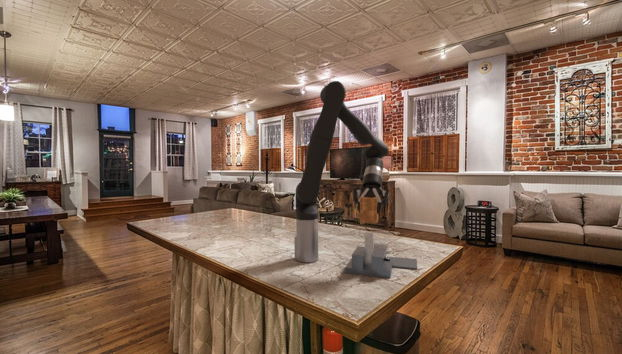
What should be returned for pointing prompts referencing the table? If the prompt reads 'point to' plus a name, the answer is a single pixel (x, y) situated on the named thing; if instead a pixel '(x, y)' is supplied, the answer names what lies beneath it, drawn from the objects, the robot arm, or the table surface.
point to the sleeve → (368, 210)
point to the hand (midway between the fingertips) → (368, 212)
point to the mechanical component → (382, 246)
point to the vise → (370, 260)
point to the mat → (403, 262)
